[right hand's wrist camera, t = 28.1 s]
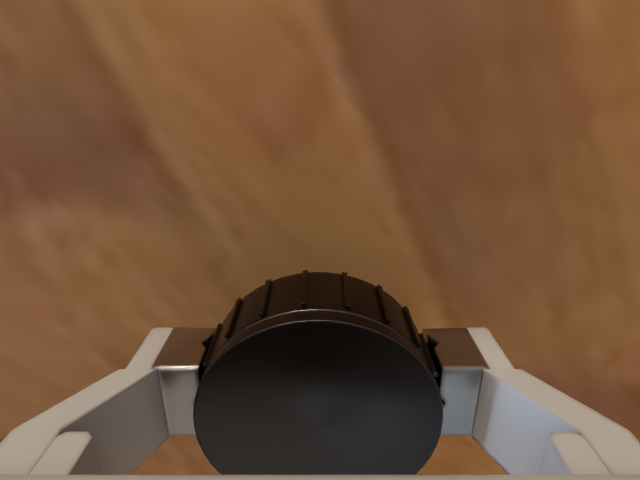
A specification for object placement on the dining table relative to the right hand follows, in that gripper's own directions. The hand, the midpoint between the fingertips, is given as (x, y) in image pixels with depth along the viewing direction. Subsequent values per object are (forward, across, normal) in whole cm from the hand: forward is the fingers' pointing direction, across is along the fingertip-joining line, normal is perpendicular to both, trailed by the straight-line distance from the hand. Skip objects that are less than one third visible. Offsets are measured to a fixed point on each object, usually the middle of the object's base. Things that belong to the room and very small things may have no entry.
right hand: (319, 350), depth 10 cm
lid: (-2, 0, 0) cm, 2 cm away
